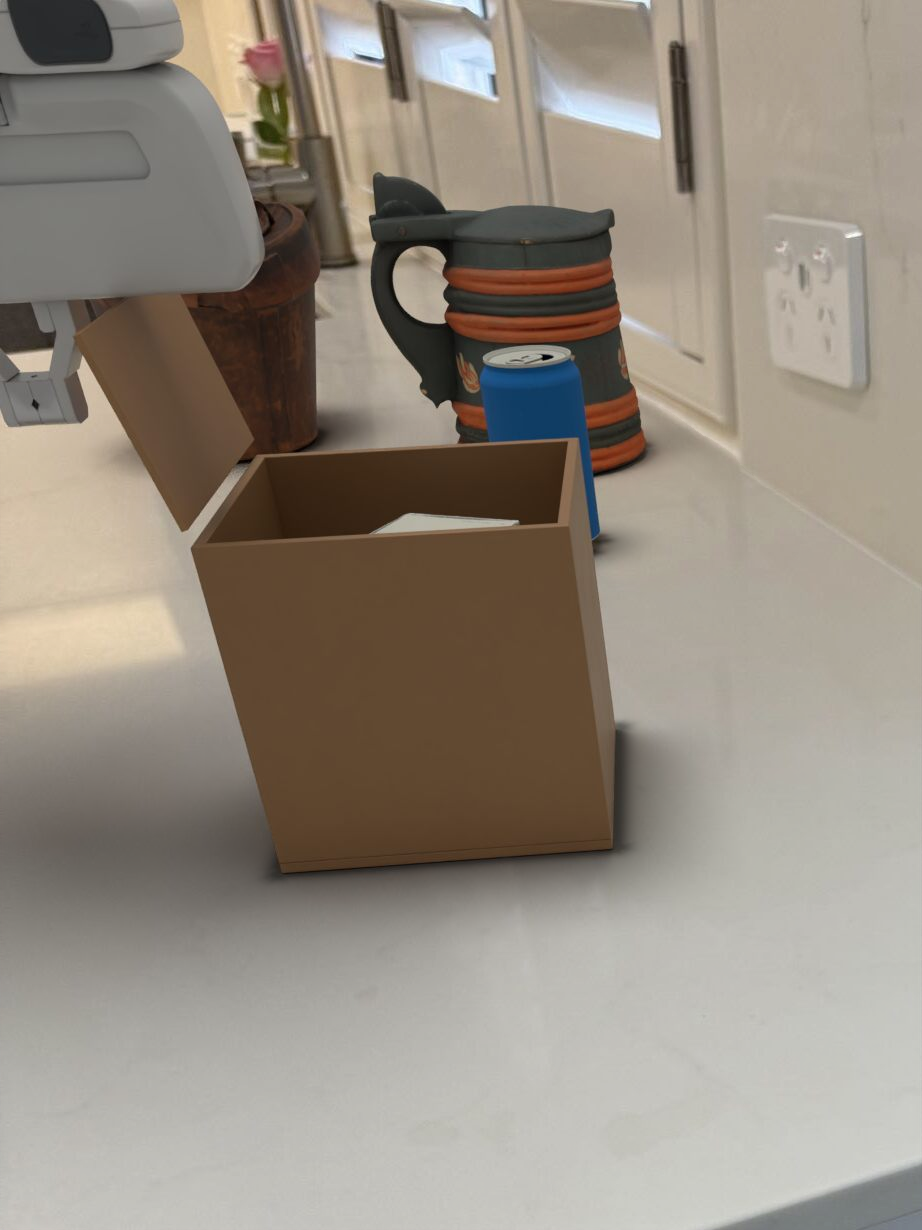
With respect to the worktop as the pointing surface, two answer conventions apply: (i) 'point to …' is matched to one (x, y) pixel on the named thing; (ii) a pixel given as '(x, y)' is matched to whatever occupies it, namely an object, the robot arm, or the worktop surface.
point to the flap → (167, 398)
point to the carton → (416, 653)
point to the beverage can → (538, 403)
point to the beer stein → (509, 305)
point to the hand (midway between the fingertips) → (49, 422)
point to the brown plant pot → (266, 334)
